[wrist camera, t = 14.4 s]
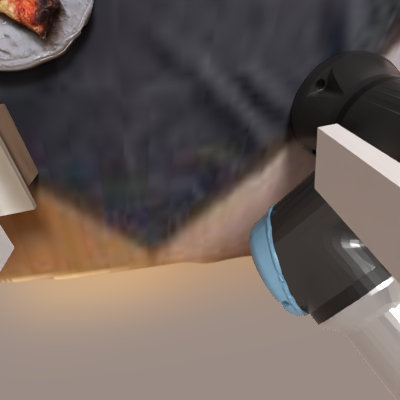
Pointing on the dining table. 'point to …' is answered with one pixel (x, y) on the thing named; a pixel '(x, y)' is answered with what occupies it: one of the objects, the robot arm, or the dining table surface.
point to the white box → (14, 168)
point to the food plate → (39, 30)
